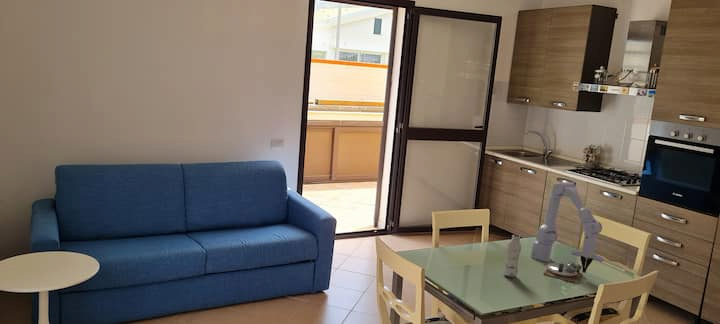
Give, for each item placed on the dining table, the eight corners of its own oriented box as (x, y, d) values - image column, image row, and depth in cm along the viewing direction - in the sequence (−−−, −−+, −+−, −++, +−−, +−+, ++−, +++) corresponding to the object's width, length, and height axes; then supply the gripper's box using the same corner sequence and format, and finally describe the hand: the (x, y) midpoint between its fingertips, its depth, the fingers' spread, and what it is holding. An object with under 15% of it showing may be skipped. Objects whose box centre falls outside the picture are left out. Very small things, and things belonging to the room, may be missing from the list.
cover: (564, 270, 272) (565, 262, 271) (566, 267, 276) (567, 260, 276) (575, 273, 270) (576, 265, 269) (576, 270, 274) (578, 262, 273)
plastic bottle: (517, 275, 265) (524, 235, 262) (515, 280, 259) (522, 239, 256) (504, 272, 268) (510, 232, 264) (501, 276, 262) (508, 236, 258)
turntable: (544, 271, 272) (546, 260, 271) (549, 264, 284) (551, 253, 283) (574, 279, 266) (576, 268, 265) (578, 271, 278) (580, 260, 277)
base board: (543, 274, 271) (545, 264, 270) (549, 265, 285) (550, 256, 284) (577, 283, 263) (579, 273, 263) (582, 274, 277) (583, 264, 276)
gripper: (572, 243, 267) (567, 270, 270) (604, 251, 261) (599, 278, 263) (574, 240, 274) (569, 266, 276) (605, 247, 267) (600, 274, 270)
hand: (584, 272), depth 270 cm, fingers closed
